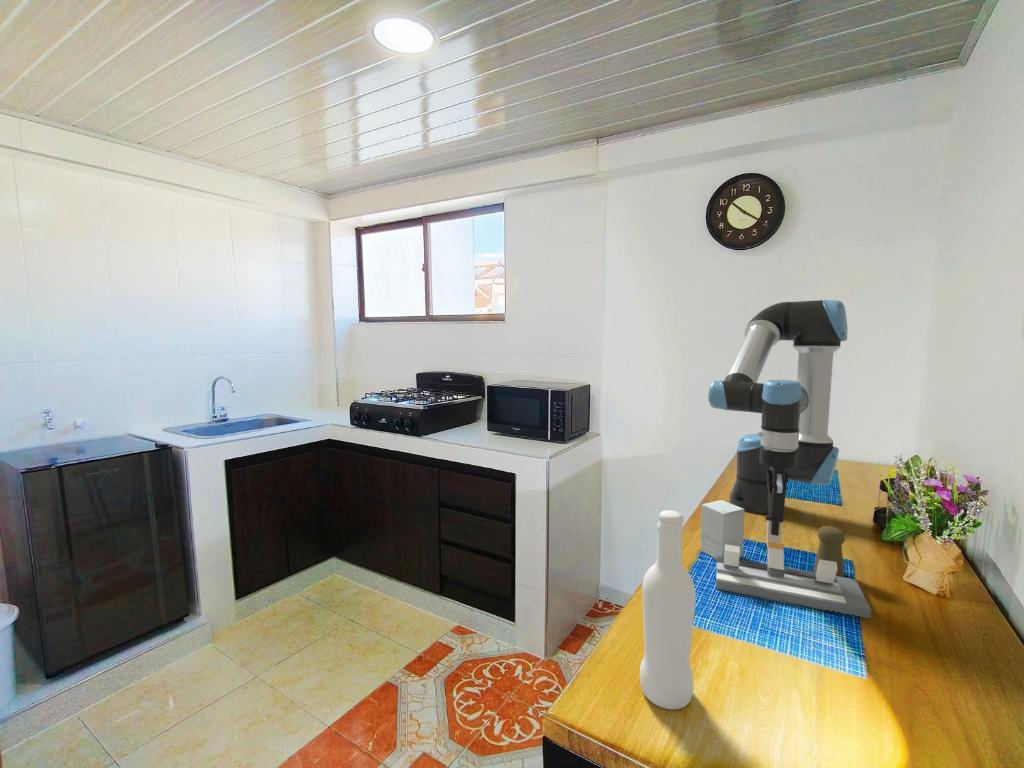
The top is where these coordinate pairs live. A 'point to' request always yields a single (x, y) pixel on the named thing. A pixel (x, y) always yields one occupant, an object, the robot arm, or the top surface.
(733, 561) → the white block
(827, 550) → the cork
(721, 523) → the supplement box
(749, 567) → the breaker panel
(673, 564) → the bottle
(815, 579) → the white block
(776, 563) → the paddle
